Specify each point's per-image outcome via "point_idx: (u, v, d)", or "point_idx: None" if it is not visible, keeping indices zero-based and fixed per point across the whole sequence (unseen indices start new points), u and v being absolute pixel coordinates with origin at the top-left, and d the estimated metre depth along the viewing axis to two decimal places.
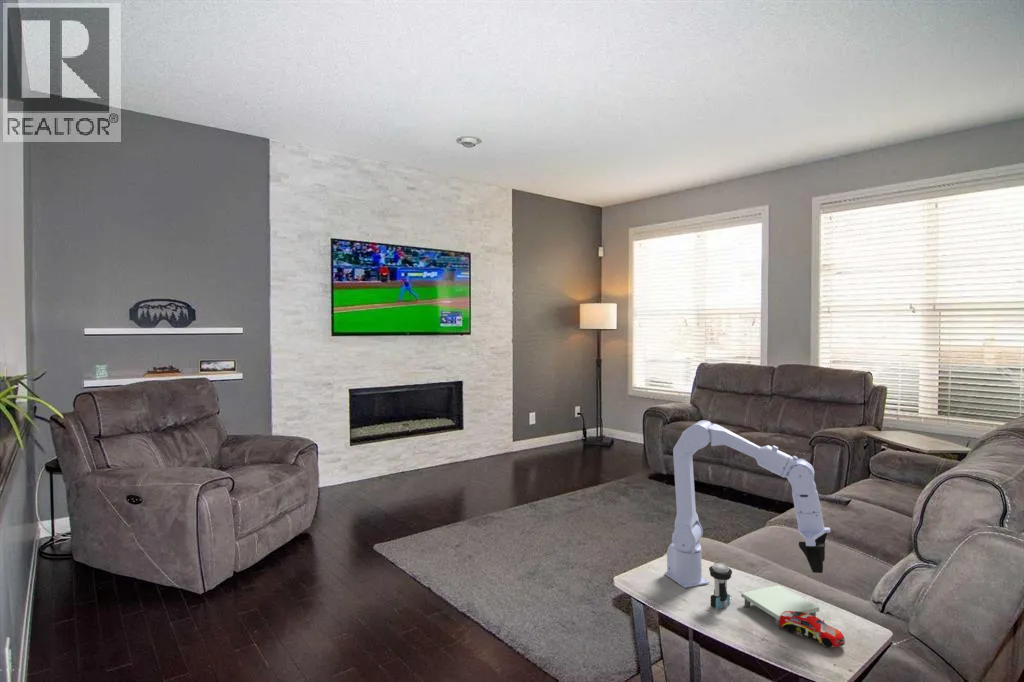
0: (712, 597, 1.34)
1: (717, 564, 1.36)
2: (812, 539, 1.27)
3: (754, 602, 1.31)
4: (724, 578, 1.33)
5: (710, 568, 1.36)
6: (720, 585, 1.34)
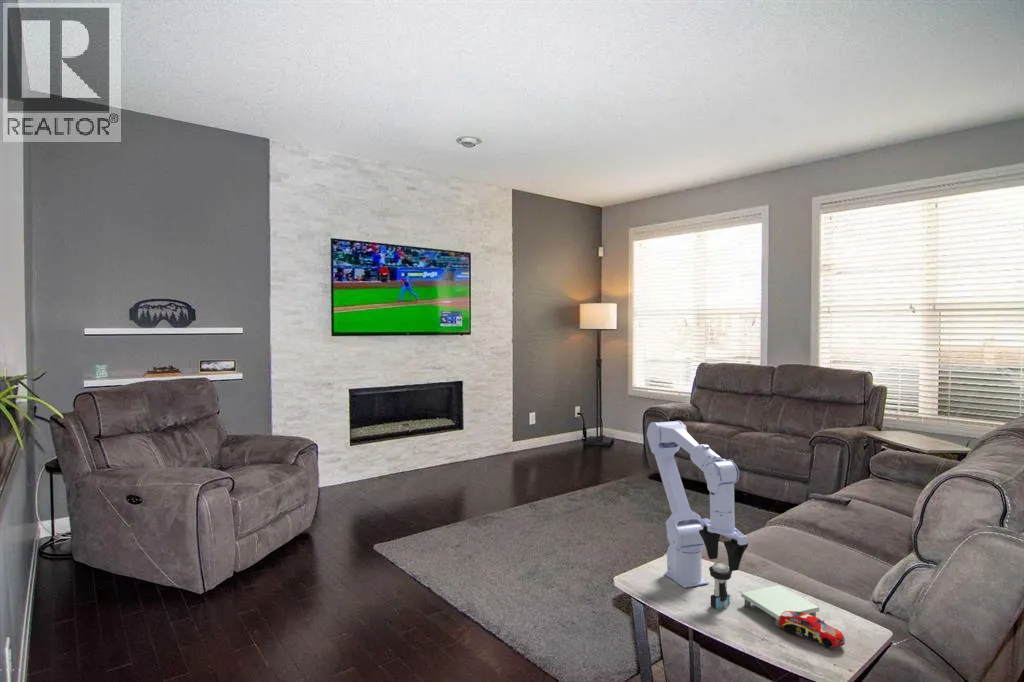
0: (712, 597, 1.34)
1: (717, 564, 1.36)
2: None
3: (754, 602, 1.31)
4: (724, 578, 1.33)
5: (710, 568, 1.36)
6: (720, 585, 1.34)
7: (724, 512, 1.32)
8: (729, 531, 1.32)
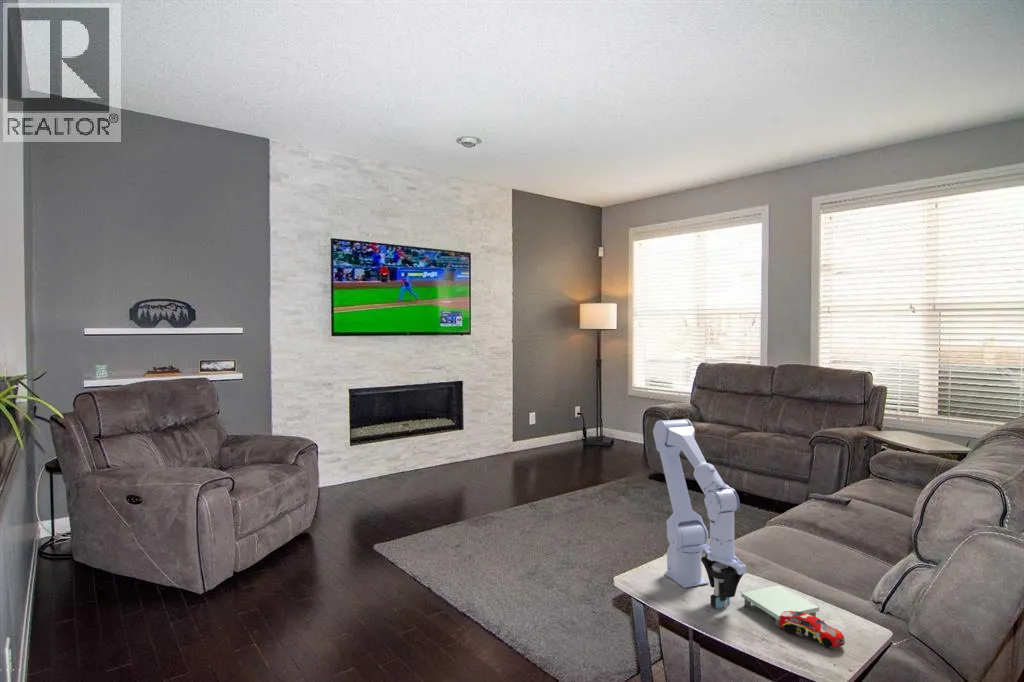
0: (712, 597, 1.34)
1: (717, 564, 1.36)
2: None
3: (754, 602, 1.31)
4: None
5: (710, 568, 1.36)
6: (720, 585, 1.34)
7: (724, 540, 1.32)
8: (729, 559, 1.32)
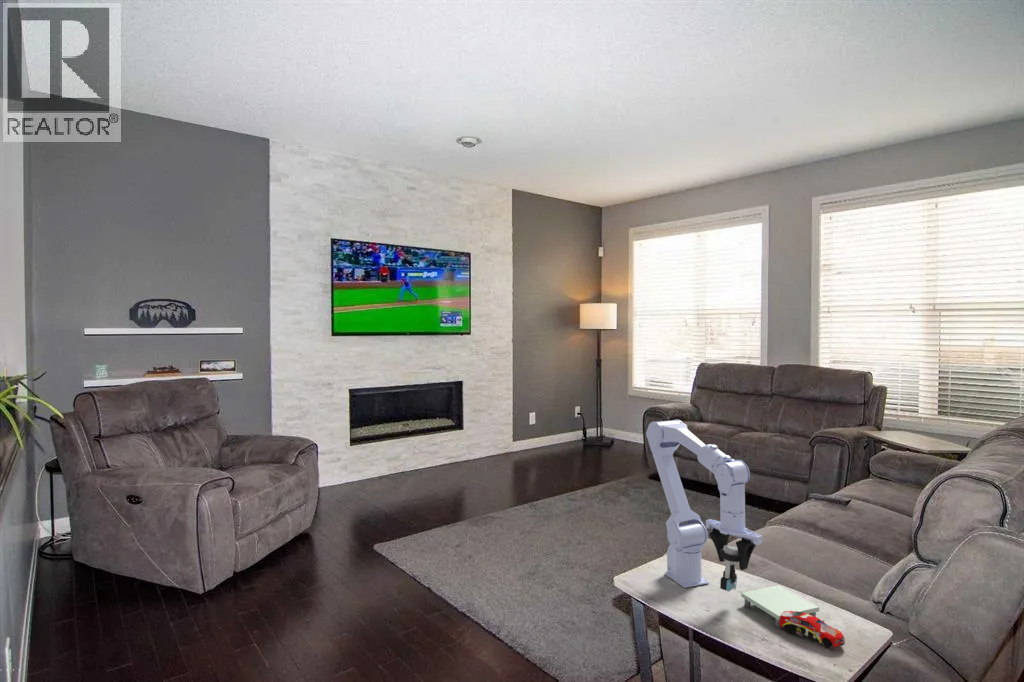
0: (722, 579, 1.33)
1: (727, 546, 1.35)
2: None
3: (754, 602, 1.31)
4: (737, 560, 1.32)
5: (721, 550, 1.34)
6: (731, 567, 1.33)
7: (737, 513, 1.32)
8: (742, 531, 1.32)
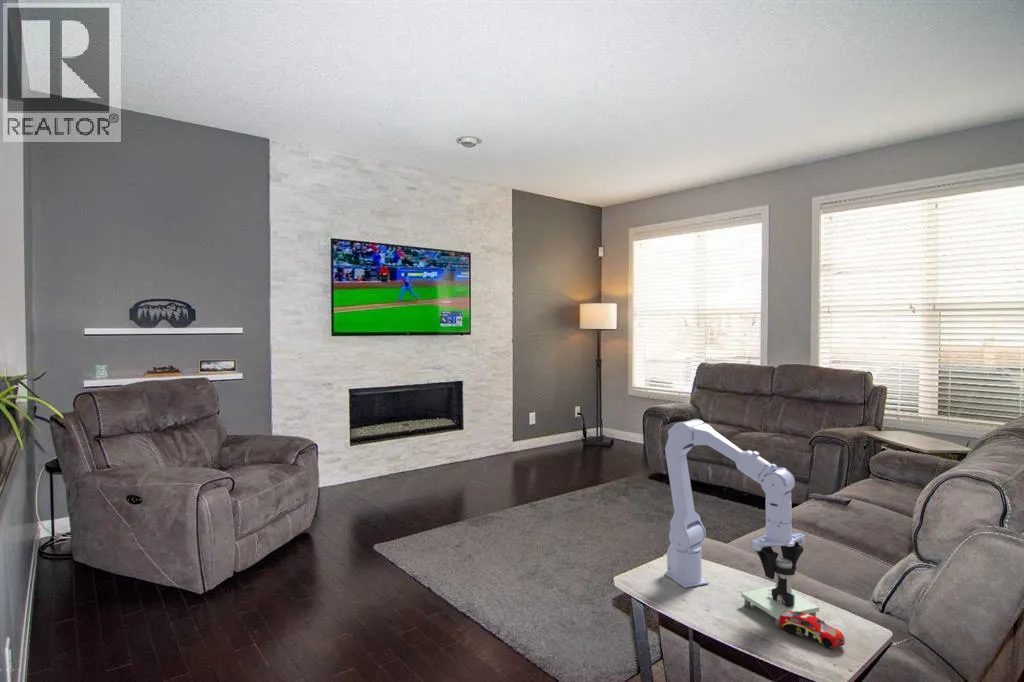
0: (790, 597, 1.28)
1: (780, 561, 1.30)
2: (756, 544, 1.29)
3: (754, 602, 1.31)
4: None
5: (783, 568, 1.28)
6: None
7: None
8: None
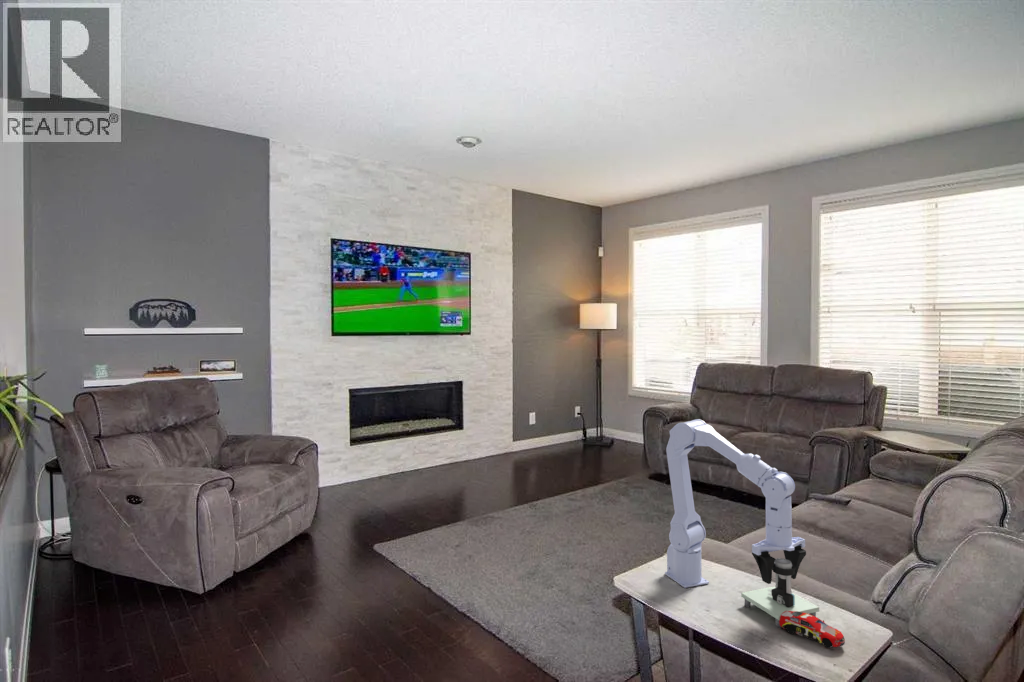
0: (790, 597, 1.28)
1: (780, 561, 1.30)
2: (756, 548, 1.29)
3: (754, 602, 1.31)
4: None
5: (783, 569, 1.28)
6: None
7: None
8: None
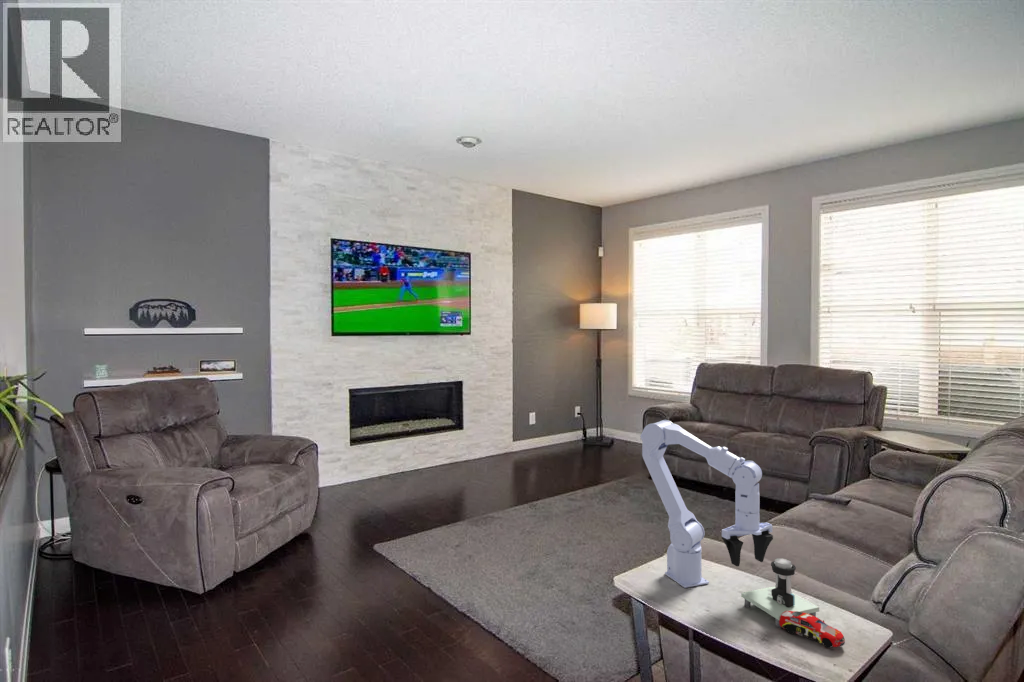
0: (790, 597, 1.28)
1: (780, 561, 1.30)
2: (726, 532, 1.36)
3: (754, 602, 1.31)
4: None
5: (783, 569, 1.28)
6: None
7: None
8: None
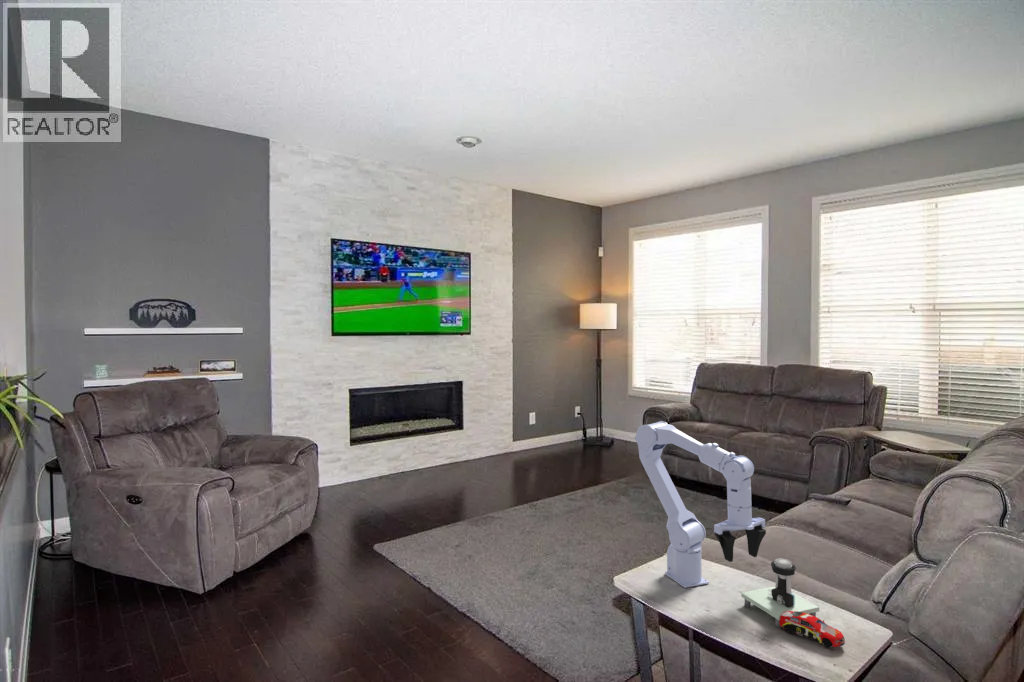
0: (790, 597, 1.28)
1: (780, 561, 1.30)
2: (718, 527, 1.36)
3: (754, 602, 1.31)
4: None
5: (783, 569, 1.28)
6: None
7: None
8: None
